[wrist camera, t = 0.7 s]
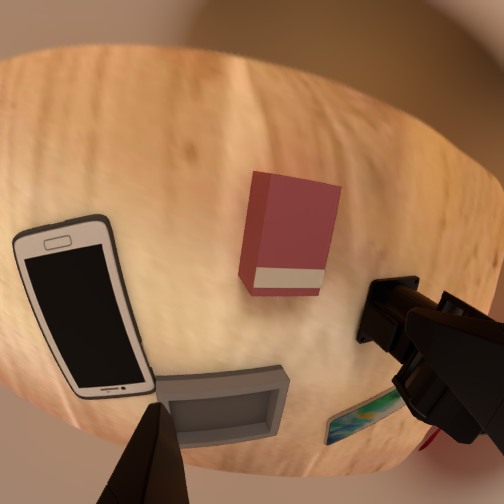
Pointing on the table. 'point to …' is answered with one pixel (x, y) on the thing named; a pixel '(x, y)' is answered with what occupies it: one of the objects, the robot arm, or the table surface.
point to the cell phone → (84, 307)
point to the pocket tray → (224, 405)
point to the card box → (287, 235)
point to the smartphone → (362, 415)
